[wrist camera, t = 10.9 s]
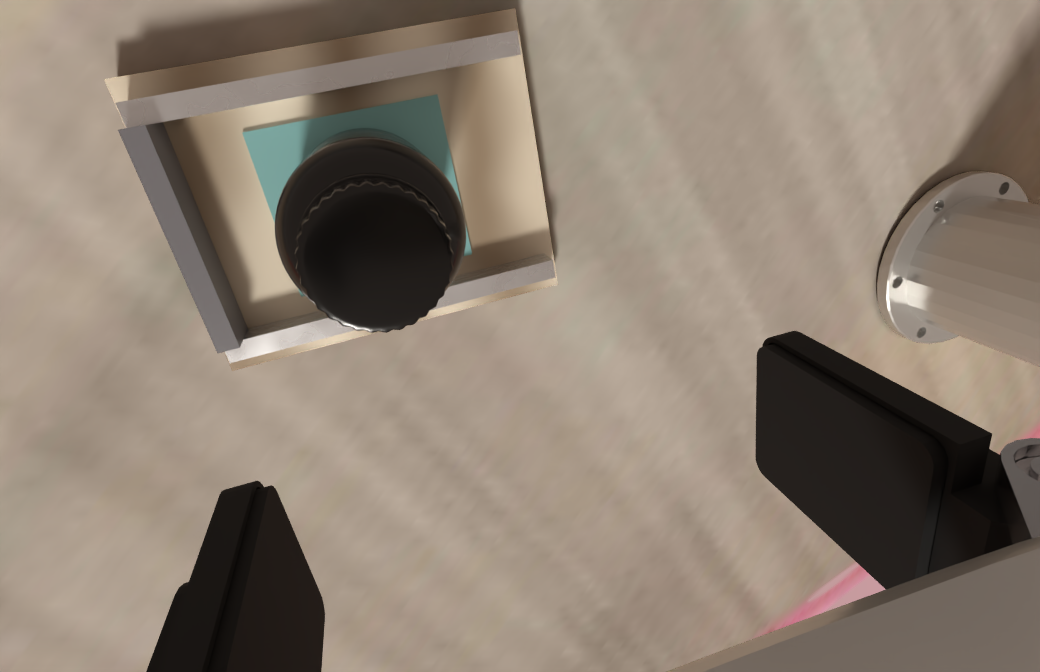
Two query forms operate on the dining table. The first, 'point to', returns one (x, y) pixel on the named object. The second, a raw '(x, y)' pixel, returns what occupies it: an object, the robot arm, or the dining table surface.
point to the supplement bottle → (370, 230)
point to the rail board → (303, 126)
